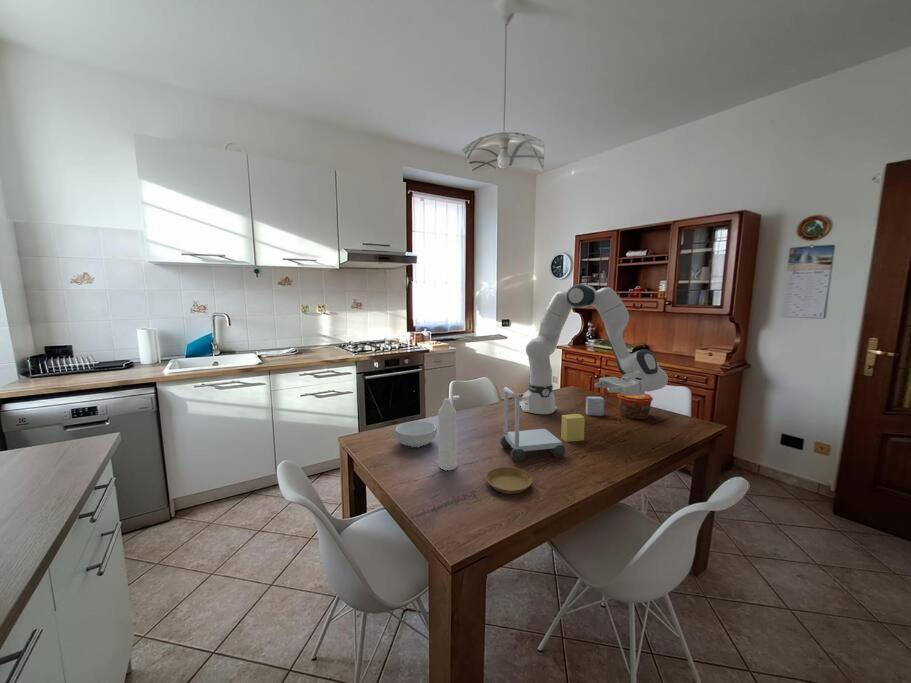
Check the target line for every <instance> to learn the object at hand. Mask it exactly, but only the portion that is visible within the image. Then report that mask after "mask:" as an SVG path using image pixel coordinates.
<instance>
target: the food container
mask: <svg viewBox="0 0 911 683" xmlns="http://www.w3.org/2000/svg"><path fill="white" fill-rule="evenodd" d="M616 396H617V398H618V408H619V415H620V416H621V417H624V418H625V419H631V420H646V419H648V418H649V415H650V409H651V406H652V401H653V400H654V399H653V396H651V395H650V394H648V393H645V395H642V396H640V395H633V396H628V395H624V394H621V393H617V395H616Z"/></svg>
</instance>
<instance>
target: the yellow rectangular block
mask: <svg viewBox="0 0 911 683" xmlns="http://www.w3.org/2000/svg"><path fill="white" fill-rule="evenodd" d="M585 419H586V418H585V416H583V415H582V414H580V413H573V414H562V415H561V429H560V430H561V431H560V432H561V433H560V434H561V435H560V436H561V437H560V438H561V439H562V440H563V441H564V442H566V443H567V442H569V443H570V442H579V441H584V440H585V423H586V421H585Z"/></svg>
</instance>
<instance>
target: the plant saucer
mask: <svg viewBox="0 0 911 683" xmlns="http://www.w3.org/2000/svg"><path fill="white" fill-rule="evenodd" d="M485 479H486V481H487V483H488V484H489V485H490V486H491V487H492V488H493V489H494V490H495V491H497V492H499V493H502V494H505V495H507V494H509V495H515V494H520V493H522V492H524V491H526V490H527V489H528V488H529V487H530V486H531V485H532V483H533V478H532V476H531V475H530V474H529V473H528V472H527V471H525V470H523V469H520V468H517V467H509V466H508V467H507V466H502V467H496V468H493V469H491V470H489V471H488V472H487V473H486V475H485Z"/></svg>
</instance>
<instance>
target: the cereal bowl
mask: <svg viewBox="0 0 911 683" xmlns="http://www.w3.org/2000/svg"><path fill="white" fill-rule="evenodd" d="M437 432H438V431H437V426H436V425H435V424H434V423H432V422H429V421H423V420H416V421H415V420H414V421H412V420H411V421H407V422H404V423H400V424H399V425H397V426H396V427H395V437H396V438H397V440H398V441H399V443H401V444H402V445H404V446H407V445H408V446H407V447H409V446H413V447H417V448H419V447H418V446H422V447H424V446H425V445H428V444H430V443H432V442H433V441H434V440H435V438H436V436H437ZM423 445H424V446H423ZM413 447H412V448H413Z"/></svg>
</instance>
